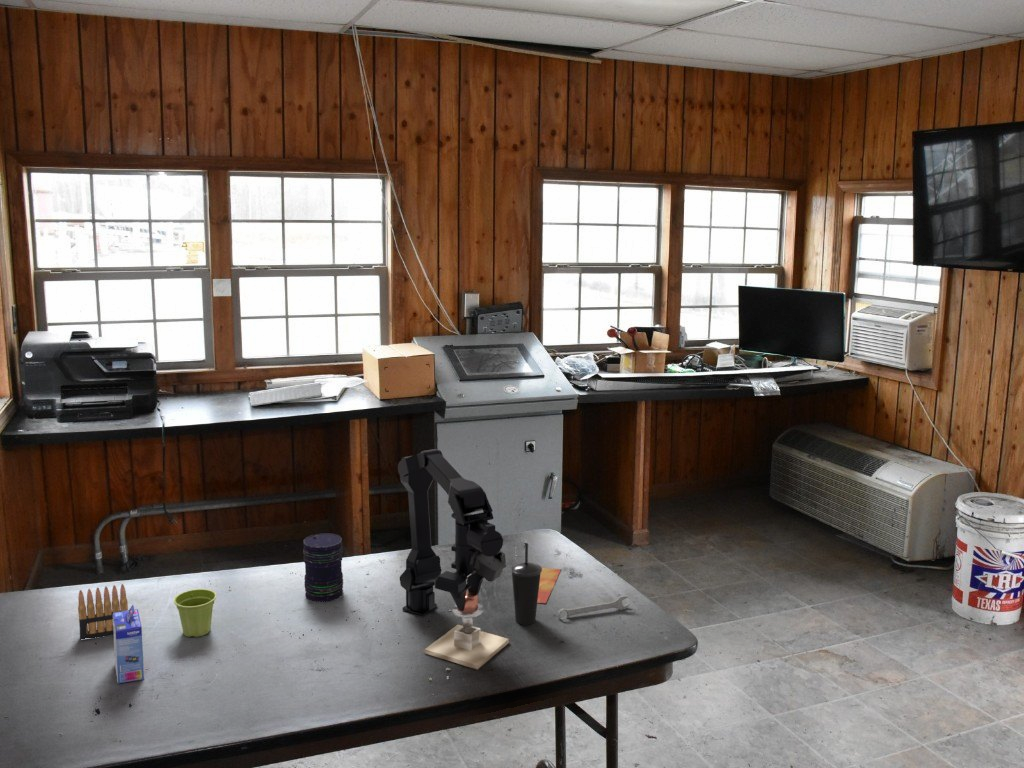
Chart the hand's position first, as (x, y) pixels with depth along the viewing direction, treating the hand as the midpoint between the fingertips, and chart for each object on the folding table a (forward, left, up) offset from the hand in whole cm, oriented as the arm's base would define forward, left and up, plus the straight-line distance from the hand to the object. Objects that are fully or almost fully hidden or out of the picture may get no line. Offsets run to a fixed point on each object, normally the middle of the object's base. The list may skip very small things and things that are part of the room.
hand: (467, 606), depth 200 cm
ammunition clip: (-76, -38, -11) cm, 86 cm away
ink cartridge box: (-57, -46, -11) cm, 74 cm away
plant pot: (-59, -26, -11) cm, 65 cm away
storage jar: (-47, +5, -11) cm, 48 cm away
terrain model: (-10, +37, -11) cm, 40 cm away
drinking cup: (+5, +19, -11) cm, 22 cm away
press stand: (0, 0, -10) cm, 10 cm away
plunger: (0, 0, -5) cm, 5 cm away
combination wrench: (+18, +31, -11) cm, 38 cm away
